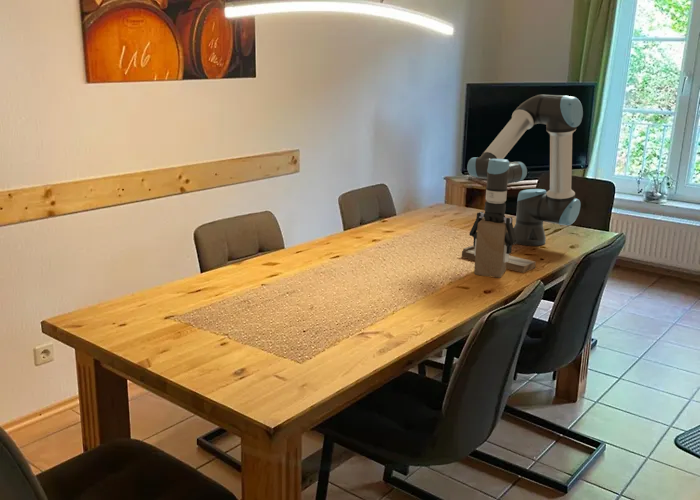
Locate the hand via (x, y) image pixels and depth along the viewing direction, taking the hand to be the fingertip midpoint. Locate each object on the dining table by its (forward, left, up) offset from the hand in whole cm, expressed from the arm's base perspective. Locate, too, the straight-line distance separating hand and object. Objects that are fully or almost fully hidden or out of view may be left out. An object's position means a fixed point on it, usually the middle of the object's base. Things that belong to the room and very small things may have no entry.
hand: (491, 258), depth 258 cm
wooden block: (0, 0, -6) cm, 6 cm away
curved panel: (-14, -5, -6) cm, 16 cm away
